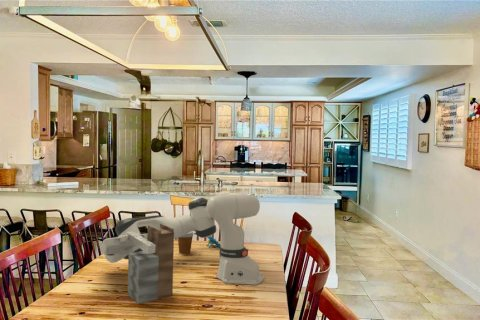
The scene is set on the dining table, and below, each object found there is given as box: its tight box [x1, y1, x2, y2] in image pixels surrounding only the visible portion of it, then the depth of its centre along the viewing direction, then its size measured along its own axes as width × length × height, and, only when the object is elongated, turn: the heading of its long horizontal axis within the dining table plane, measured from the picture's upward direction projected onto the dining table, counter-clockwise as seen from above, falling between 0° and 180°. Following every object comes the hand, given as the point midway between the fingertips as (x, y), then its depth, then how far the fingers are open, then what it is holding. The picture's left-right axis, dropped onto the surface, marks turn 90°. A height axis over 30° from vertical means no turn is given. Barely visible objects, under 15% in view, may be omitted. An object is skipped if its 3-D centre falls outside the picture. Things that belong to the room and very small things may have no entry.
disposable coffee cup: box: [177, 231, 194, 255], centre depth 210 cm, size 10×10×12 cm
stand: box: [127, 224, 175, 305], centre depth 149 cm, size 11×14×28 cm
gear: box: [206, 236, 221, 249], centre depth 223 cm, size 11×6×10 cm
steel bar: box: [127, 231, 156, 254], centre depth 149 cm, size 22×3×3 cm, turn 38°
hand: (133, 236), depth 155 cm, fingers closed on steel bar, 3 cm apart
